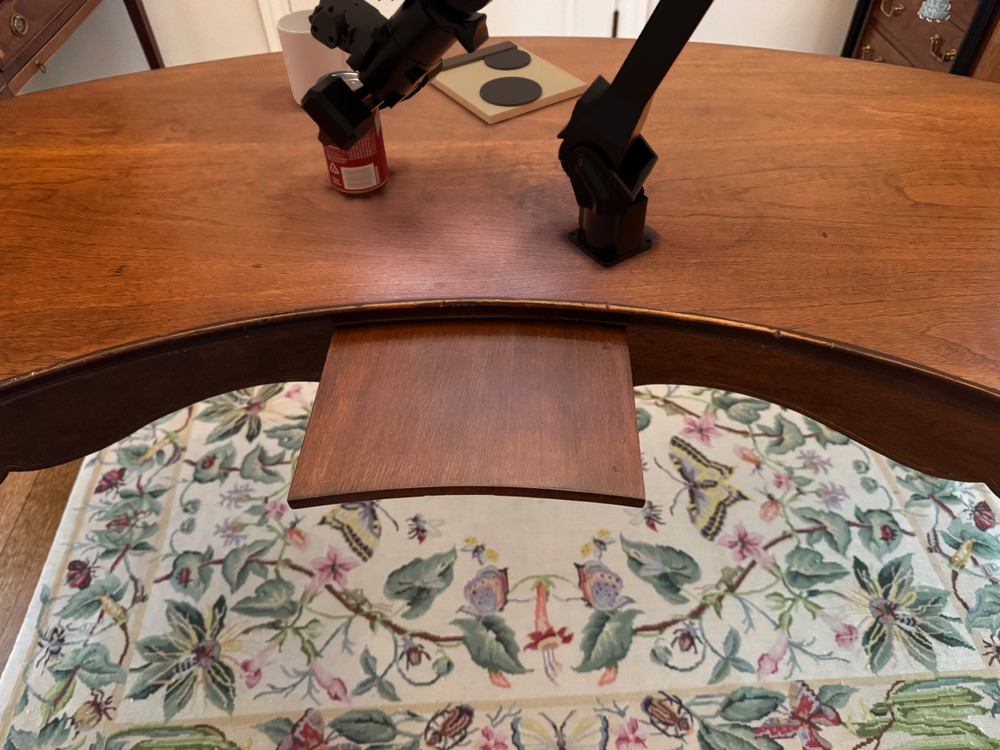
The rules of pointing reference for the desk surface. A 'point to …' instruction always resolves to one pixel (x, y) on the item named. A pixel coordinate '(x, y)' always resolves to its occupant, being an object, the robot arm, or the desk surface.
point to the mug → (306, 53)
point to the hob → (505, 81)
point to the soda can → (357, 152)
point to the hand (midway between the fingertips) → (340, 127)
